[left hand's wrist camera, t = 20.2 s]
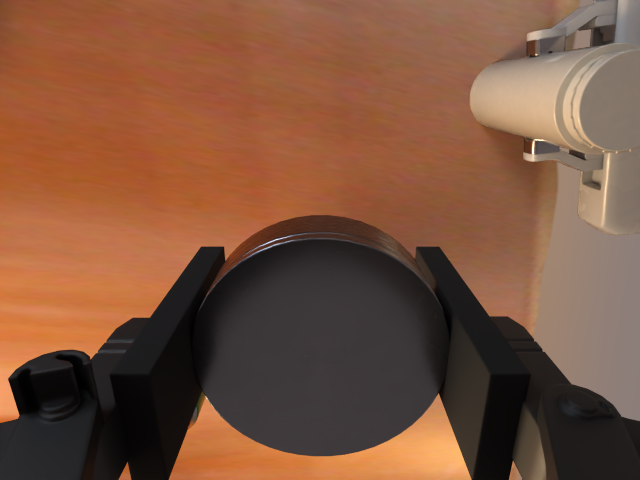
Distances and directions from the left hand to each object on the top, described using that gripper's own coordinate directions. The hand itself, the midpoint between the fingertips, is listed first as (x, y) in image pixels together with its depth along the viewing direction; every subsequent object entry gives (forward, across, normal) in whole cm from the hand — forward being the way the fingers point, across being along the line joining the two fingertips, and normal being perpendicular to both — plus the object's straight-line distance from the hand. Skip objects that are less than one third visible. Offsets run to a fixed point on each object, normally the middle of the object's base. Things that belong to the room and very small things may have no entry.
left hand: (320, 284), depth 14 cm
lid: (-4, 0, 0) cm, 4 cm away
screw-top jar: (+24, +15, +5) cm, 29 cm away
